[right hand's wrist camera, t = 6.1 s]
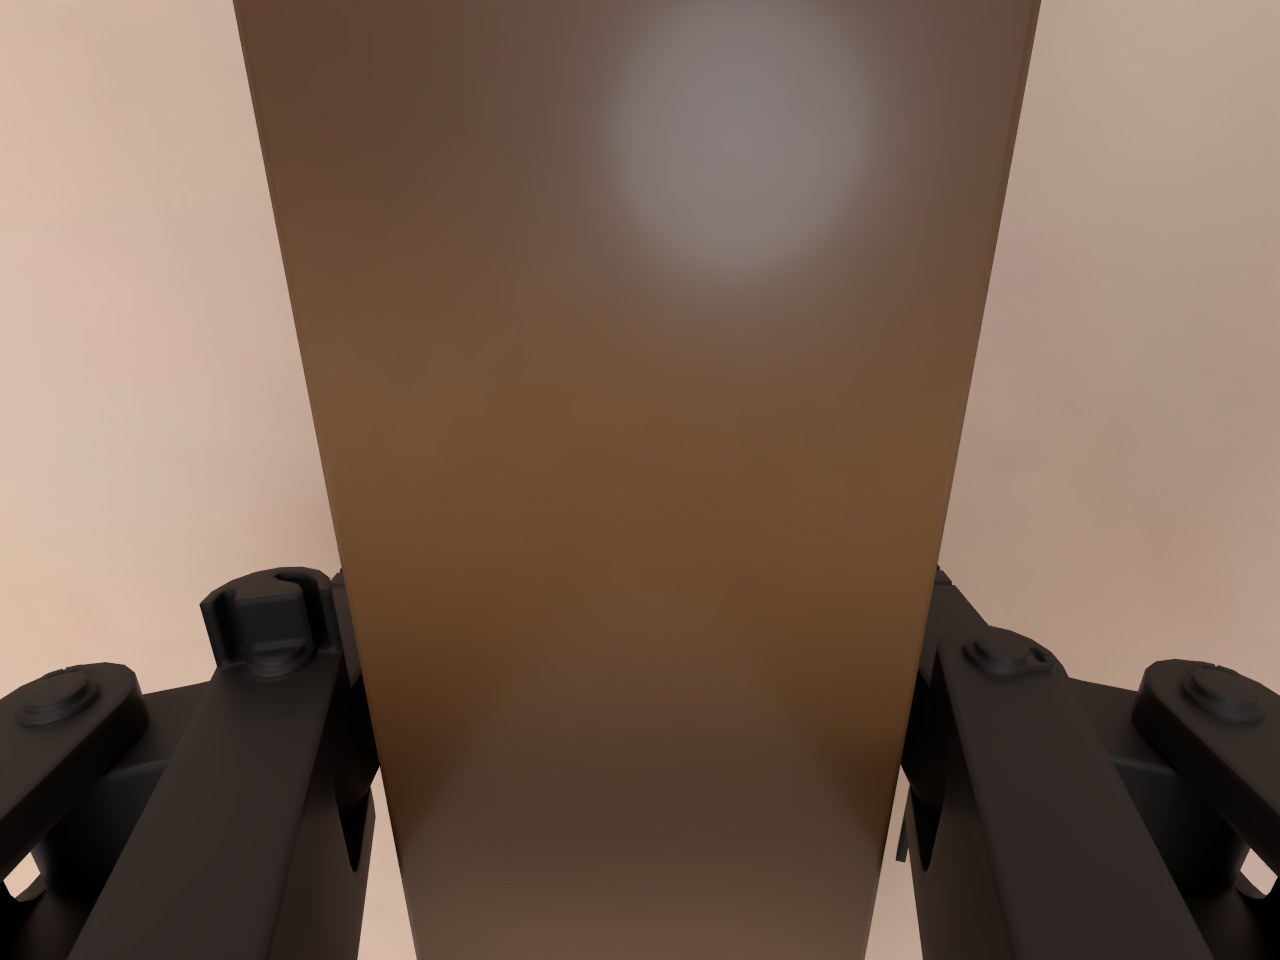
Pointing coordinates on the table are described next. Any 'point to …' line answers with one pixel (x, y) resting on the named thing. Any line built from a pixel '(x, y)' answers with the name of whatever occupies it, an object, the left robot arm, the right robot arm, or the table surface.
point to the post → (638, 433)
